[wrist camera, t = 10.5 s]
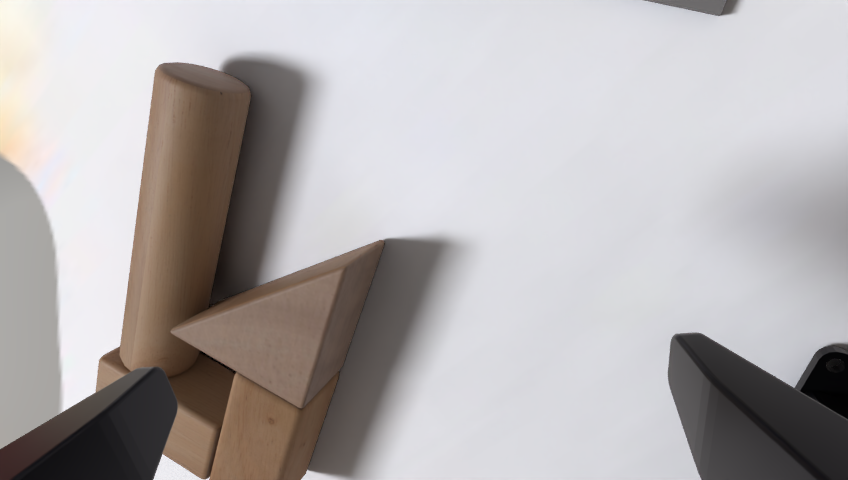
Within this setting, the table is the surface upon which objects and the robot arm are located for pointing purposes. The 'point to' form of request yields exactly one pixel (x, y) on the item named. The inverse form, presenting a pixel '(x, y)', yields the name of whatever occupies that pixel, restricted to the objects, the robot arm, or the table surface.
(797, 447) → the robot arm
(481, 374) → the table surface
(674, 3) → the mat
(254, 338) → the wooden block
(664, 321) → the table surface
